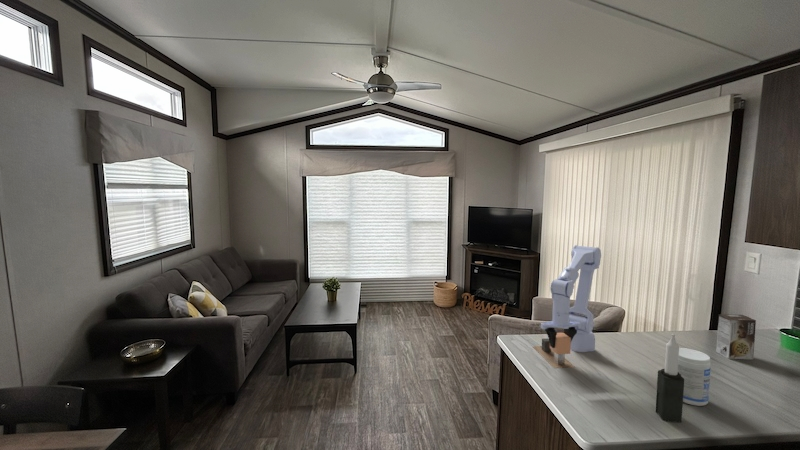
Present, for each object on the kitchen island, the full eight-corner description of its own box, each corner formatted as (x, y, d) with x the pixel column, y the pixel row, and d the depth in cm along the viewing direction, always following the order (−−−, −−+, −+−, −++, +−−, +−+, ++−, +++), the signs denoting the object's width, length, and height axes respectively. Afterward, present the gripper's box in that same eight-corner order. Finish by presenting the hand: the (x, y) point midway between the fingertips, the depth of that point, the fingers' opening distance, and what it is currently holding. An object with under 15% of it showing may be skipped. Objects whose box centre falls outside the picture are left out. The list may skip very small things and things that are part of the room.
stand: (550, 349, 144) (551, 335, 143) (575, 371, 126) (575, 355, 125) (532, 350, 143) (532, 336, 143) (554, 372, 125) (555, 356, 125)
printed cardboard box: (739, 352, 139) (742, 314, 138) (754, 360, 133) (757, 320, 132) (715, 351, 140) (717, 313, 139) (728, 359, 134) (731, 319, 133)
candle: (683, 423, 97) (689, 338, 95) (663, 420, 98) (668, 336, 96) (673, 412, 102) (678, 331, 100) (653, 410, 103) (658, 329, 101)
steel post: (560, 360, 131) (561, 349, 130) (564, 363, 128) (564, 352, 128) (554, 360, 131) (554, 349, 130) (557, 364, 128) (558, 352, 128)
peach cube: (562, 347, 132) (563, 332, 131) (570, 353, 127) (570, 338, 126) (549, 348, 131) (550, 332, 131) (556, 354, 126) (557, 338, 126)
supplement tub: (712, 410, 102) (716, 363, 101) (672, 401, 107) (675, 356, 106) (702, 394, 111) (705, 350, 110) (666, 386, 115) (668, 344, 114)
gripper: (547, 315, 123) (546, 352, 124) (586, 314, 124) (584, 350, 125) (538, 309, 130) (537, 343, 131) (574, 308, 131) (573, 342, 132)
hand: (559, 346), depth 129 cm, fingers closed on peach cube, 5 cm apart
